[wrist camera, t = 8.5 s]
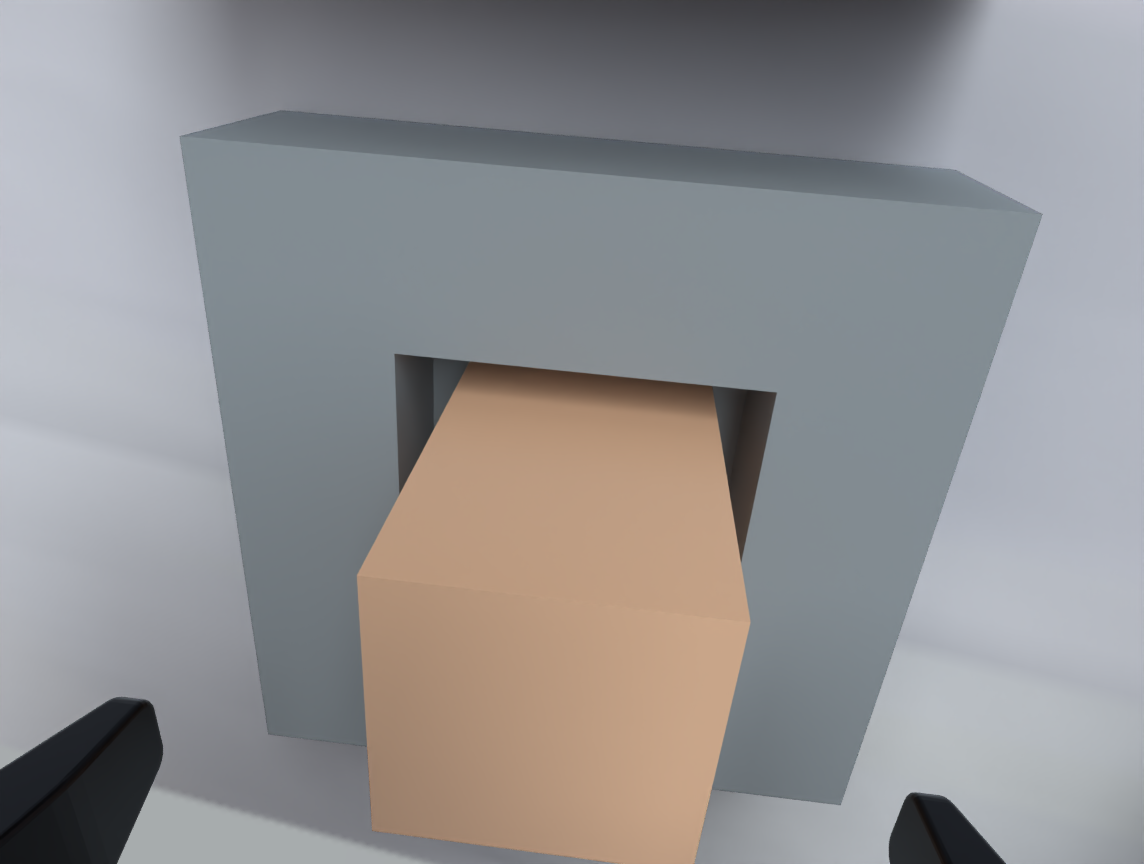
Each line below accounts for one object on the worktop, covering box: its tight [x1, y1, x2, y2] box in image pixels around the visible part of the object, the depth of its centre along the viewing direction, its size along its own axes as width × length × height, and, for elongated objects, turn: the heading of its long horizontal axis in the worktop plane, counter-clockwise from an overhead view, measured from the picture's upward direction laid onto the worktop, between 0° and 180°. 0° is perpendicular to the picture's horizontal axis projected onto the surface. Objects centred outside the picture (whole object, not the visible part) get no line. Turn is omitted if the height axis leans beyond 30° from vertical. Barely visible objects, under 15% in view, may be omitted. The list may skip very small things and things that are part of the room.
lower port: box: [180, 111, 1042, 805], centre depth 15 cm, size 12×12×4 cm
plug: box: [357, 361, 751, 864], centre depth 13 cm, size 4×4×7 cm
